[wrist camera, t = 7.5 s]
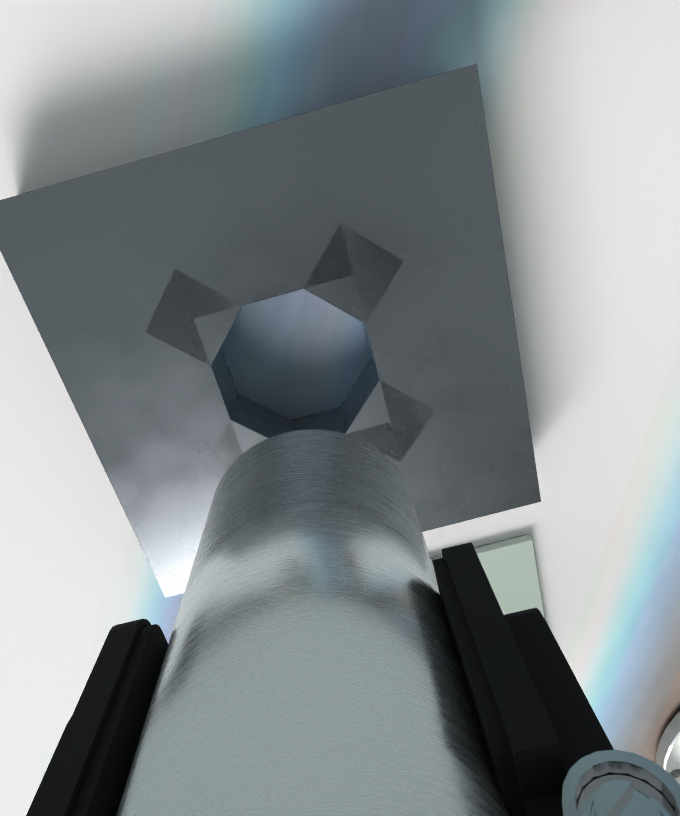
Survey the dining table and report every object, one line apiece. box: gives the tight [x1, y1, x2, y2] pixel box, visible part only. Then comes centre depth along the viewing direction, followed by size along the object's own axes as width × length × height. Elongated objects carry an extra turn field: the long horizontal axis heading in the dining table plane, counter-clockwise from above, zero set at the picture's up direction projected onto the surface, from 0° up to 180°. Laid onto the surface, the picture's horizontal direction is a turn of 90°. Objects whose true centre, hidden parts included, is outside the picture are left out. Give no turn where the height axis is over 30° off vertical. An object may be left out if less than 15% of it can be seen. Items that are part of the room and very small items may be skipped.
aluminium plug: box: [116, 429, 510, 816], centre depth 10 cm, size 5×5×9 cm
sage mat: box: [430, 534, 545, 619], centre depth 34 cm, size 14×14×1 cm
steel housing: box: [0, 64, 541, 597], centre depth 25 cm, size 18×18×3 cm
